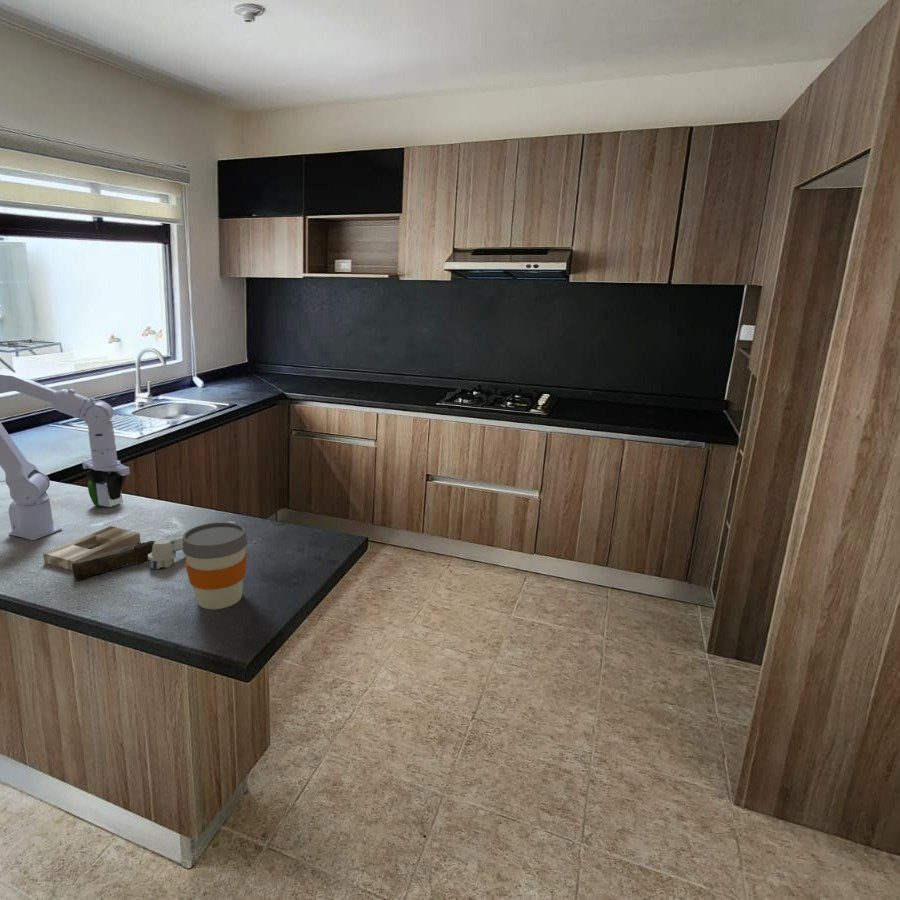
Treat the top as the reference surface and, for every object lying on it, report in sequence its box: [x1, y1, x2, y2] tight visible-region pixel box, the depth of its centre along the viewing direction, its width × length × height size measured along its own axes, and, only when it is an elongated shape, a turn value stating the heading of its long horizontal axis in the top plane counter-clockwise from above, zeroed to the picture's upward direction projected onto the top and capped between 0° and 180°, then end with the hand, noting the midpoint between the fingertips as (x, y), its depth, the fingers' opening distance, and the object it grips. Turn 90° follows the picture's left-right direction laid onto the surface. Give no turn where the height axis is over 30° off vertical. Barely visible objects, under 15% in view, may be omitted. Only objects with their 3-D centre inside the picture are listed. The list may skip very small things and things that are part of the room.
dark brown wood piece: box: [71, 540, 157, 581], centre depth 138 cm, size 19×4×5 cm, turn 132°
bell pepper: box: [87, 479, 103, 508], centre depth 175 cm, size 8×8×10 cm
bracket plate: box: [42, 526, 141, 572], centre depth 146 cm, size 10×18×2 cm, turn 159°
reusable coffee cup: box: [182, 521, 248, 610], centre depth 125 cm, size 13×12×15 cm
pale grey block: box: [96, 481, 124, 508], centre depth 159 cm, size 4×4×6 cm
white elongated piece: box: [148, 520, 239, 570], centre depth 148 cm, size 5×7×25 cm
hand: (109, 497), depth 159 cm, fingers closed on pale grey block, 4 cm apart
